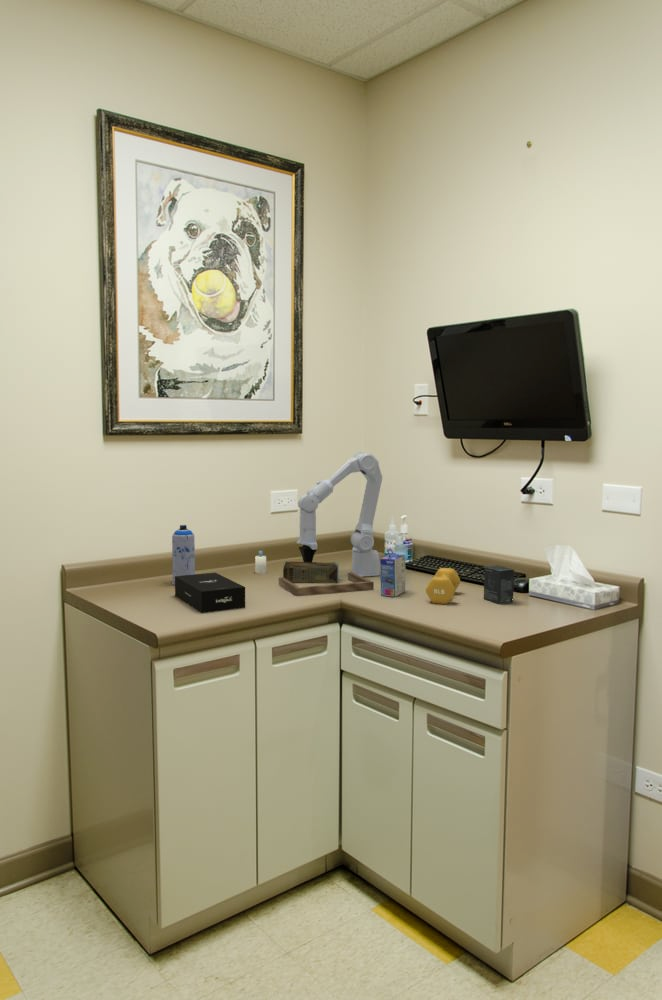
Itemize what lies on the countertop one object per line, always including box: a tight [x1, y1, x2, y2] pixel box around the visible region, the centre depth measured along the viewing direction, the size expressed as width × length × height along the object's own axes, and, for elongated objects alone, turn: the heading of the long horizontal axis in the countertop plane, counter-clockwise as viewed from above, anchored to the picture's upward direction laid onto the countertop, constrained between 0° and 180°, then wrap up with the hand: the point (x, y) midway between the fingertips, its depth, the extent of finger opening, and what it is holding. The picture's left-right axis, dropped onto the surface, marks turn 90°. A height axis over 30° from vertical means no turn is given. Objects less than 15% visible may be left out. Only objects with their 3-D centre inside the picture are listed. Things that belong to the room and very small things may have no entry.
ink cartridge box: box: [379, 548, 406, 598], centre depth 246 cm, size 10×6×14 cm, turn 155°
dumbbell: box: [425, 567, 461, 605], centre depth 240 cm, size 19×9×8 cm, turn 164°
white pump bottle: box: [254, 550, 267, 575], centre depth 279 cm, size 4×4×8 cm
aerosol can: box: [171, 524, 196, 586], centre depth 259 cm, size 8×8×20 cm
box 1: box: [174, 572, 246, 614], centre depth 234 cm, size 25×14×7 cm, turn 29°
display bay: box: [278, 571, 375, 597], centre depth 255 cm, size 27×18×2 cm, turn 112°
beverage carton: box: [282, 561, 340, 584], centre depth 265 cm, size 8×19×7 cm, turn 88°
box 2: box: [483, 564, 515, 605], centre depth 236 cm, size 8×6×11 cm
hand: (307, 566), depth 271 cm, fingers closed
